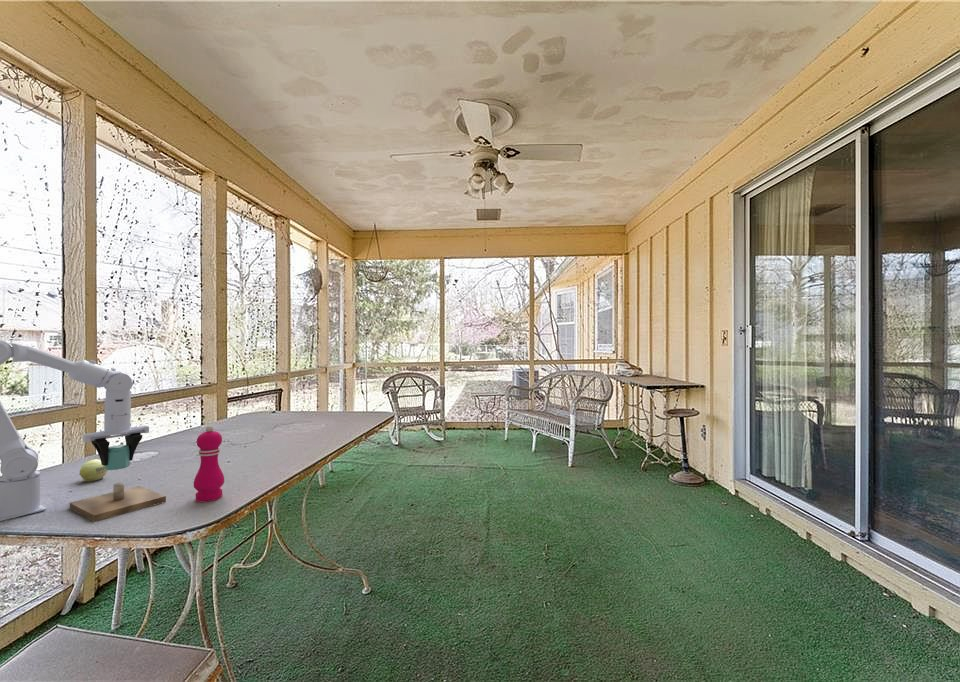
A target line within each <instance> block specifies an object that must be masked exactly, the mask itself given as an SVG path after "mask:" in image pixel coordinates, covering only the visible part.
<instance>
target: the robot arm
mask: <svg viewBox="0 0 960 682" xmlns="http://www.w3.org/2000/svg"><path fill="white" fill-rule="evenodd" d="M11 358H12V361H11V362H12V363H19V362H21V363H22V362H31V363H35V364H38V365H41V366H44V367H48V368H52V369H55V370H59V371H61V372H63V373H64V372H66V373H67V374H68V376H69V377H70V380H73V381H76V382H79V383H82V384H86V385H88V386H92V387H95V388H97V389H98V388H99V389H100V388H104V390H105V398H104V417H103V419H104V420H103V421H104V422H103V426H104V427H103V430H101V431H95V432H90V433H84V434H82V442H84V443H88V442H89V443H90V442H91V444H92V446H93V447H94V449H95V450H96V451H97V454H98V456H99V460H101V464H102V465H104V466H106V465H108V449H109V447H110V441H108V439H112V438H119V437H124V438H125V445H129V448H130V461H133V458H134V455H135V452H136V450H137V448H138V445H139V444H140V442H141V441H142V439H143V434H149V433H150V426H149V425H142V426H131V422H132V421H131V420H132V419H131V417H132V414H131V413H132V409H131V408H132V398H131V394H132V393H131V392H132V391H131V389H132V388H133V386H134V382H133V380H132V378H131V377H130V375H128V374H127V373H125V372H124V373H123V372H122V371H116V370H117V369H116V368H114V367H111V368H110V367H107V366H103V365H100V364H97V362H96V360H93V359H89V361H88V360H85V359H84V360H82V359H81V360H80V361H79V360H78V361H72V360H69V359H67V358H63V357H61V356H58V355H55V354H52V353H49V352H47V351H44V350H41V349H38V348H35V347H33V346H29V345H23V344H19V343H15V342H9V343H8V342H7V341H5V340H3V339H0V366H1V365H3V364H4V363H6V362H8V361H9V360H10V359H11ZM38 466H39V455H38V453H37V451H36V450H34V449H32V448H30V447H29V446H28V445H27V444H26V442H25V441H24V439H23V438H22V437H21V435H20V434H19V432H18V430H17V428H16V427H15V425H14V423H13V421H12V419H11V417H10V415H9V414H8V412H7V410H6V409H5V407H4V405H3V403H2V401H1V400H0V473H1V475H0V522H2V521H6V520H9V519H14V518H18V517H22V516H26V515H32V514H36V513H39V512H44V511H47V507H45V506H43V505H42V504H41V471H39V470H37V469H38Z"/></svg>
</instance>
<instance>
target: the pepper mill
mask: <svg viewBox="0 0 960 682" xmlns="http://www.w3.org/2000/svg"><path fill="white" fill-rule="evenodd" d="M222 442H223V436H222V434H221V433H220V432H218V431H215V430H214V427H213V426H212V425H208V426H206V428H205V431H204V432H202V433H200V434H199V435H198V436H197V438H196V446H197V447H198V448H199V450H198V456H200V466H199V468H198V470H197V473H196V475H195V477H194V479H193V480H194V481H193V488H194V489H195V490H196V491H197V492H195V501H196V502H198V503H205V502H206V503H207V502H212V501H216V500H218V499H220V498H222V497H223V488H222V486H223V485H224V484H225V476H224V473H223V471H222V469H221V468H220V464H219V454H220V453H221V451H220V450H221V448H220V446H221V445H222Z"/></svg>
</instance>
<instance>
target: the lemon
mask: <svg viewBox="0 0 960 682" xmlns="http://www.w3.org/2000/svg"><path fill="white" fill-rule="evenodd" d="M108 471H109V470H105V466H104V465H102V464H101V459H96V458H95V459H92V460H91V459H90V460H89V461H87V462H85V463H83V464H82V466H81V468H80V470H79V476H80V477H81V478H82V480H84V481H85V482H87V483H88V482H94V481H99V480H101V479H102V478H104V476H106V475H107V473H108Z"/></svg>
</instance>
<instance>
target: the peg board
mask: <svg viewBox="0 0 960 682" xmlns="http://www.w3.org/2000/svg"><path fill="white" fill-rule="evenodd" d="M112 487H113V491H112V492H108V493H105V494H99V495H95V496H91V497H88V498H82V499H78V500H74V501H70V502H69V509H70V510H72V511H74V512H76V513H77V514H79V515H81V516H83V517H85V518H87V519H88V520H91V521H92V522H98V521H101V520H105V519H109V518H111V517H116V516H120V515H123V514H126V513H130V512H134V511H136V510H141V509H145V508H148V507H147V506H149V507H151V505H152V506H154V504H156V505H158V503H159V504H162V502H163V503H165V502H167V496H166V495H165V494H161V493H159V492H156V491H154V490H151V489H148V488H145V487H143V486H140V485H139V486H134V487H129V488H125V482H117V483H114V484H113V486H112ZM144 507H145V508H144Z"/></svg>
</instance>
